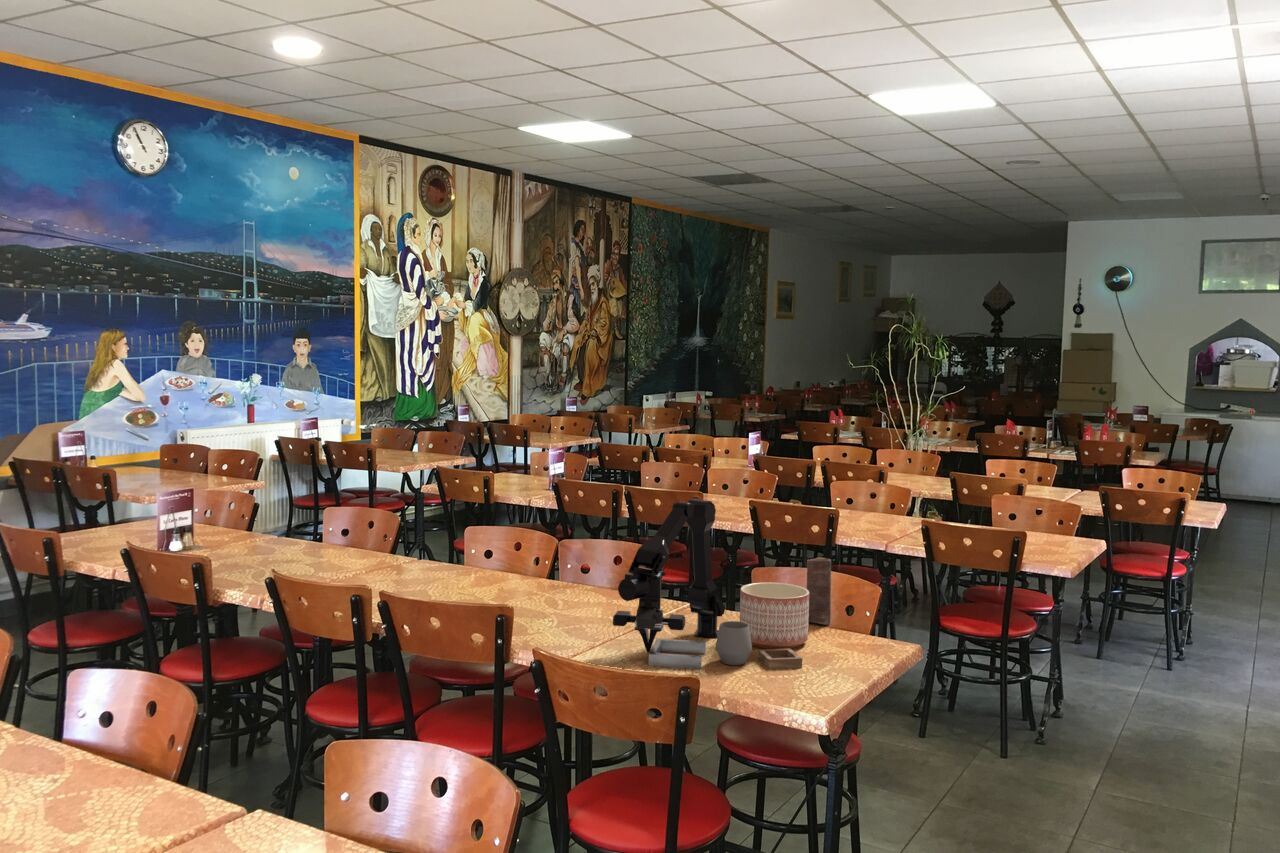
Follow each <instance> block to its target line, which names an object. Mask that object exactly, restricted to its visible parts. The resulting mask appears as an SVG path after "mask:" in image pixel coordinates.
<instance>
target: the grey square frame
mask: <svg viewBox="0 0 1280 853" xmlns="http://www.w3.org/2000/svg"><path fill="white" fill-rule="evenodd" d="M655 638H656V637H655ZM706 649H707V640H706V641H703V640H702V641H701V640H689V639H688V640H687V639H686V640H685V639H674V638H673V639H672V638H656V639H655V640H654V642H653V644H652V647H651V650H650V652H649V653H648V666H649V667H662V668H663V667H665V668H675V669H676V668H677V669H678V668H679V669H690V670H693V669H694V670H701V669H702V662H703V660H702V657H703V656H702V655H693V654H704V655H705V654H706V652H707V650H706ZM661 652H662V653H661ZM663 652H668V653H663ZM669 652H671V653H669ZM676 653H686V654H676Z"/></svg>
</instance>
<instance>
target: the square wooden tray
mask: <svg viewBox="0 0 1280 853" xmlns="http://www.w3.org/2000/svg"><path fill="white" fill-rule="evenodd" d="M757 660H759V662H760V663H762V664H763V665H764V666H765V667H766V668H767V669H768V670H776V669H777V670H778V669H781V670H782V669H797V668H798V669H799V668H803V658H802V656H800V655H799V654H797V653H796V652H795V651H794V650H793V648H789V649H766V648H763V649H758V650H757Z"/></svg>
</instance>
